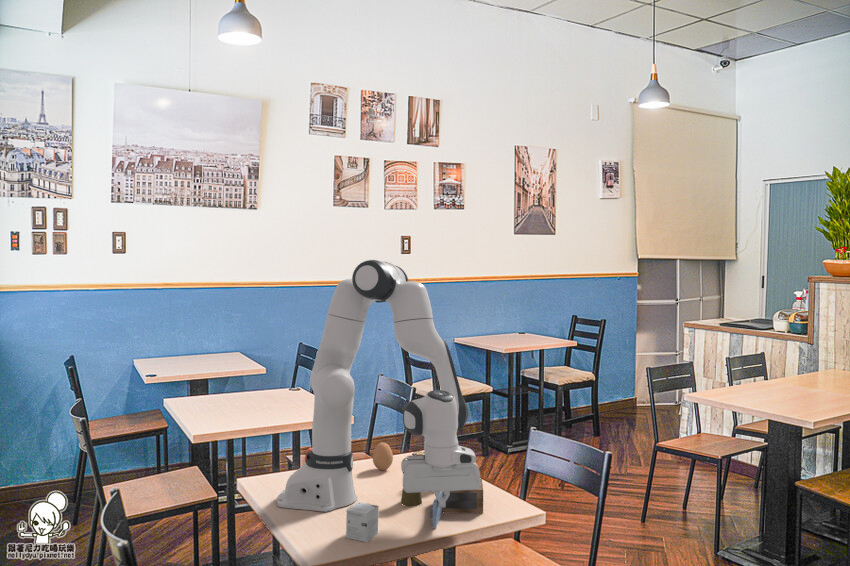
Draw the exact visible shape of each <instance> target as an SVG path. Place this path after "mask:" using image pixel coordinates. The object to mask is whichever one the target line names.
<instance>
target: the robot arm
mask: <svg viewBox="0 0 850 566" xmlns="http://www.w3.org/2000/svg"><path fill="white" fill-rule="evenodd" d="M373 303H378V304H379V303H388V305H389V307H390V308H391V313H392V321H393V331H394V337H395V340H396V342H397V344H398V345H399V346H400V348H402V349H403V350H404V351H405V352H408V353H409V354H412V355H415V356H418V357H421V358H423V359H425V360H427V361H429V362H430V363H431V364H432V365H433V367H434V370H435V372H436V376H437V380H438V383H439V388H440V389H434V390H431V391H427V392H426V394H425V396H423V397H421V398H417V399H413V400H410V401H408V402H407V404H406V405H405V406H404V408H403V412H402V424H403V427H404V429H406V431H407V432H408V433H409V434H411V435H413V436H423V437H424V443H423V445H424V446H423V447H424V448H423V451H424V455H422V454H420V455H419V454H417V455H407V456H406V457H405V458H403V459H402V460H401V462H400V463H401V465H400V468H401V471H403V472H402V491H403V490H404V491H405V492H406V493H415V492H421V493H430V492H431V493H433V494H434V497H435V498H437V500H438V507H439V508H445V507H446V500H447V499H448V497H449V495H450V491H459V490H477V489H479V487H480V486H481V480H480V479H481V473H480V468H479V465H478V464H477V463H476V461H477V457H476V453H475V452H474V451H473V450H472V449H471V448H468V447H466V446H462V445H459V440H458V436H457V433H458V432H460V431H461V430H462V429H463V428H464V426H465V425H466V423H467V421H468V419H469V409H468V404H467V403H466V400H465V398H464V396H463V394H462V393H463V392H462V391H461V387H460V383H459V379H458V375H457V372H456V368H455V364H454V360H453V358H452V354H451V351H450V348H449V345H448V343H447V342H446V340H445V339H444V338H442V337H441V336H440V334H439V333H438V331H437V329H436V325H435V321H434V315H433V309H432V305H431V301H430V297H429V293H428V290H427V288H426V286H425V285H424V284H422V283H421V282H419V281H415V280H411V281H410V280H409V278H408V274H407V273H406V272H405V270H404V269H402V268H401V267H399V266H398V265H395V264H393V263H391V262H388V261H383V260H382V261H380V260H377V259H368V260H365V261H362V262H361V263H359V264H358V265H357V266H356V267H355V269H354V270H353V272H352V278H349V279H347V278H346V279H344V280H341V281H339V282H338V284H337V285H336V287H335V289H334V292H333V295H332V297H331V300H330V303H329V305H328V310H327V315H326V318H325V323H324V329H323V333H322V337H321V341H320V343H319V347H318V350H317V353H316V355H315V359H314V364H313V366H312V369H311V373H310V376H309V377H310V378H309V385H310V388H311V390H312V391H313V394H314V395H313V396H314V402H313V404H314V405H313V406H314V407H313V416H312V417H313V418H312V425H311V426H312V427H311V429H312V430H311V432H312V433H311V439H312V440H311V444H312V445H311V446H312V447H308V449H307V450H306V452H305V456H304V462H305V464H303V465H302V466H301V467H299V468H298V469H297V470H295V471H294V472H292V474H290V476H289V477H288V479H287V481H286V484H285V488H284V490H282V491H281V492H280V493H279V495H278V496H277V499H276V504H277V506H278V507H279V508H283V509H284V508H286V509H295V510H297V509H298V510H303V511H315V512H316V511H317V512H325V513H328V512H331V511H333V510H336V509H339V508H344V507H347V506H349V505H351V504H353V503H354V502H356V501H357V497H358V496H357V494H356V489H355V485H354V478H353V469H354V454H353V449H352V418H353V412H354V404H355V403H354V401H355V391H356V387H355V380H354V378H353V377H352V375H351V370H352V367H353V364H354V361H355V359H356V356H357V354H358V352H359V350H360V347H361V344H362V343H361V342H362V338H363V334H364V329H365V326H366V320H367V315H368V311H369V308H370V307H371V305H372V304H373ZM440 491H443V492H444V496H443V498H442V499H440V497H439V495H440Z"/></svg>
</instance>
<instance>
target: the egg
mask: <svg viewBox="0 0 850 566" xmlns="http://www.w3.org/2000/svg"><path fill="white" fill-rule="evenodd" d="M393 454H394V453H393V451H392V449H391V447H390V445H389V444H388V443H386V442H382V441H381V442H379V443H378V444H376V446H375V447H374V450H373V453H372V463H373V465H374V466H375V468H376V469H377V470H379V471H381V472H382V471H383V472H384V471H387V470H388V469H389V468H390V467H391V466H392V464H393V461H394V460H393V459H394V455H393Z"/></svg>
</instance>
